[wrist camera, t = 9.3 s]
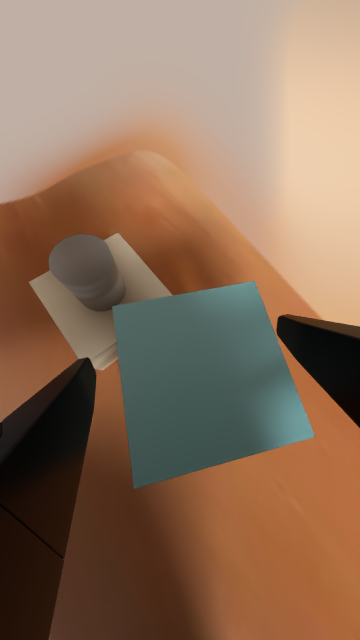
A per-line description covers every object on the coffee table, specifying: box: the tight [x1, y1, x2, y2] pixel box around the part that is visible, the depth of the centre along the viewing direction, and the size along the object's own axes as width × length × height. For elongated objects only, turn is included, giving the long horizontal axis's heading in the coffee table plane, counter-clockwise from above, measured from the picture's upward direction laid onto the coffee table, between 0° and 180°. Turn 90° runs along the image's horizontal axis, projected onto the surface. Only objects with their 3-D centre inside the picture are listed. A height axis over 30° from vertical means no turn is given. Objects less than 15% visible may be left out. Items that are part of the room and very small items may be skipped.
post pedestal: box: [29, 233, 173, 371], centre depth 13 cm, size 7×7×7 cm
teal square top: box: [112, 281, 315, 489], centre depth 11 cm, size 5×5×9 cm
